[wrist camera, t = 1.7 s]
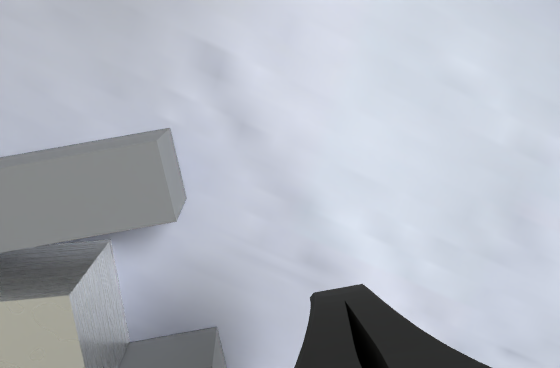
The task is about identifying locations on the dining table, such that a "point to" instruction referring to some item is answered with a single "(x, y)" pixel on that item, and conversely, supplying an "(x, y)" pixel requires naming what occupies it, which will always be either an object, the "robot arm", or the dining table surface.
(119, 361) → the rectangular block
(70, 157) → the grey bars
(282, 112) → the dining table surface
